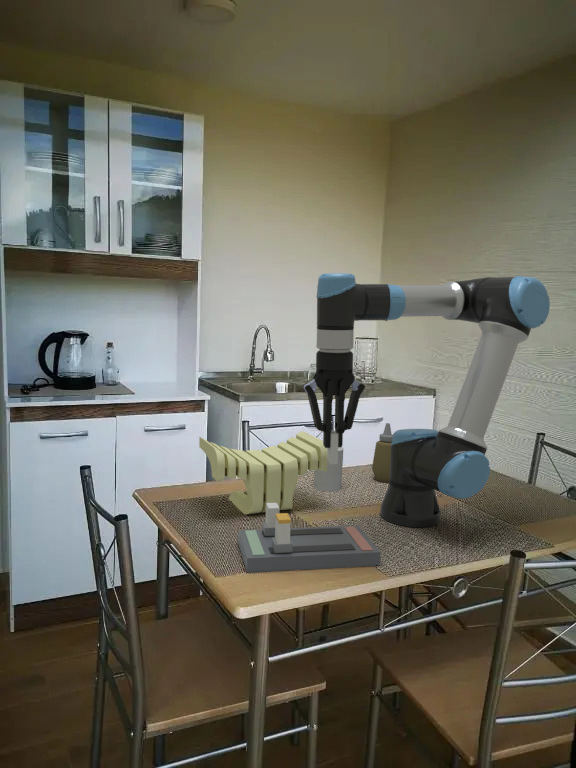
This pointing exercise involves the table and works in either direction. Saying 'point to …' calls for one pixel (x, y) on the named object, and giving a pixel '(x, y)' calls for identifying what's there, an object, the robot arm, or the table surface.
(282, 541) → the handle
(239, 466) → the slatted curved stool
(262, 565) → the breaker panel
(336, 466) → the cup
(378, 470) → the squeeze bottle
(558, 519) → the table surface
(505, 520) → the table surface
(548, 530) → the table surface
